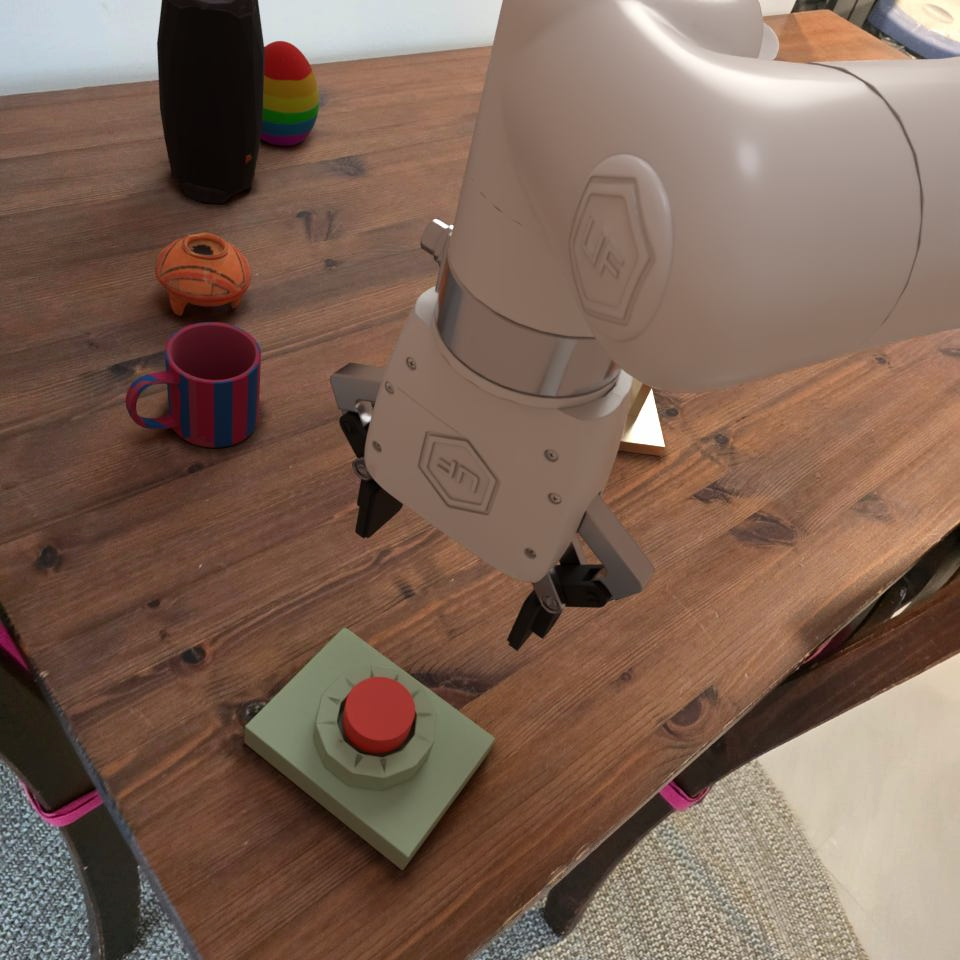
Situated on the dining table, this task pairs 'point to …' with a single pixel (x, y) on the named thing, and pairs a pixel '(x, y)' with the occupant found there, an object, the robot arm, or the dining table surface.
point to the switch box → (357, 774)
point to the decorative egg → (288, 95)
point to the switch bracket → (642, 423)
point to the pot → (202, 272)
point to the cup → (206, 385)
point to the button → (378, 715)
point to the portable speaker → (211, 94)
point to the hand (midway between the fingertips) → (451, 573)
